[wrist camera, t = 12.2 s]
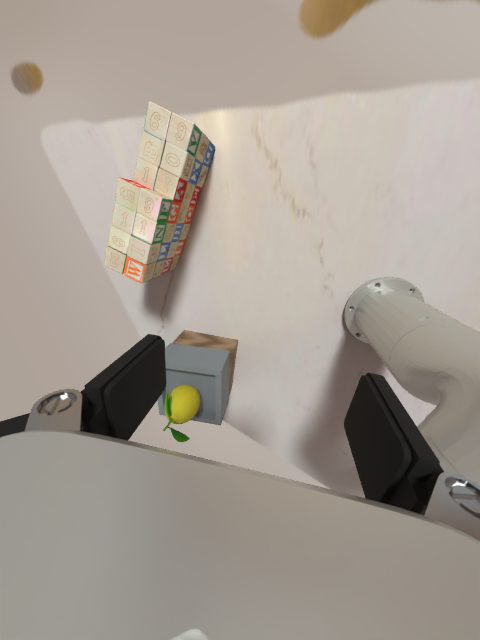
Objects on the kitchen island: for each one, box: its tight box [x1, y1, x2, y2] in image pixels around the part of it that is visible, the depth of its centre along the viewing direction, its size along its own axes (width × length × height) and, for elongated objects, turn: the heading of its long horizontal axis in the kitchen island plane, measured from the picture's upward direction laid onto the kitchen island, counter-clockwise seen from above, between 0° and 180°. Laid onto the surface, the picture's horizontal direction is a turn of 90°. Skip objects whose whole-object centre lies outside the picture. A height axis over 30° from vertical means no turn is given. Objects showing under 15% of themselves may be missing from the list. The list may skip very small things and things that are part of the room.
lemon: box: [163, 385, 200, 442], centre depth 36 cm, size 7×6×10 cm
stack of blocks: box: [104, 101, 215, 283], centre depth 34 cm, size 21×6×12 cm, turn 155°
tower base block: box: [173, 330, 238, 397], centre depth 49 cm, size 12×12×6 cm
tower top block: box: [158, 343, 230, 425], centre depth 43 cm, size 12×12×6 cm
